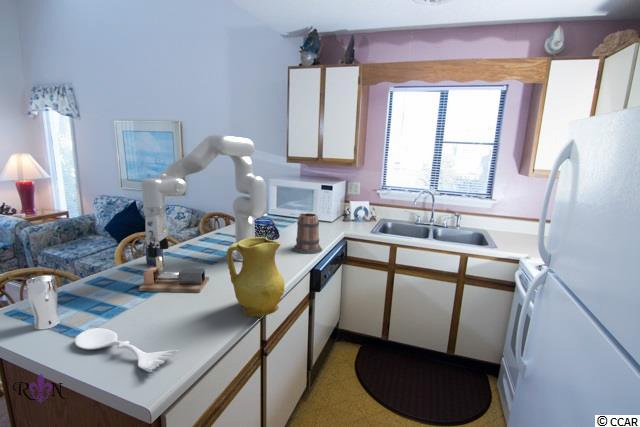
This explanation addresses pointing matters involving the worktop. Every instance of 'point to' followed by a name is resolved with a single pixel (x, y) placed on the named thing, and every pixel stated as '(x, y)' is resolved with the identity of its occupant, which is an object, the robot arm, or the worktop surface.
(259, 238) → the pitcher
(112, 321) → the worktop surface
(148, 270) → the socket block
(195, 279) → the outer sleeve
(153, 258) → the flask
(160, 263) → the brushed metal peg
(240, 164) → the robot arm
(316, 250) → the tankard
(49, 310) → the beer glass
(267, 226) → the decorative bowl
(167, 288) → the base board
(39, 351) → the worktop surface
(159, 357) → the spoon
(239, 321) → the worktop surface
